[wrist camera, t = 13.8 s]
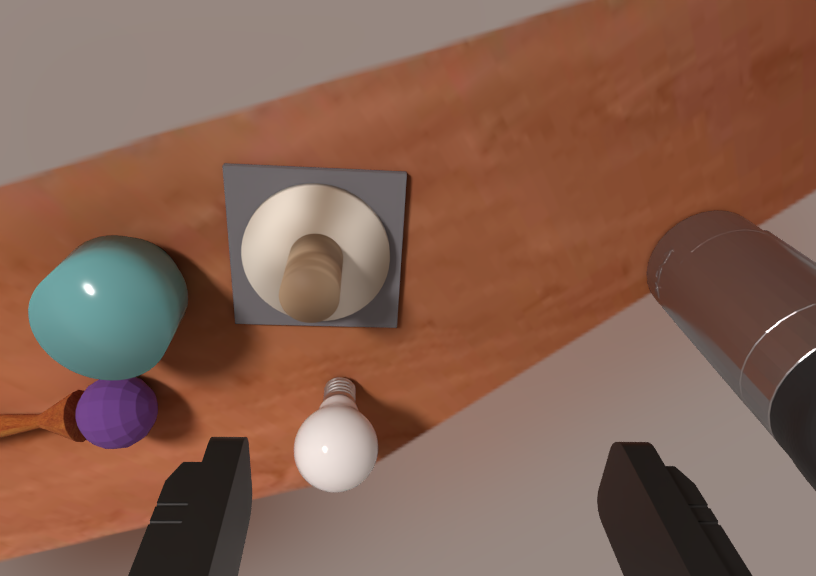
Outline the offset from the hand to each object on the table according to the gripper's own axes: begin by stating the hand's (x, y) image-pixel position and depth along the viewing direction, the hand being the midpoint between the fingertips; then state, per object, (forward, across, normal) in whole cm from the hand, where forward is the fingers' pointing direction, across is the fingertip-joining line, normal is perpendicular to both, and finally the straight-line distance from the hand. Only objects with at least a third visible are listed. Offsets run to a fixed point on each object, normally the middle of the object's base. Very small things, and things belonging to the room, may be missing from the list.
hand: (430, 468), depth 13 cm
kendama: (+34, +28, +26) cm, 51 cm away
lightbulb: (+33, +3, +23) cm, 41 cm away
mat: (+33, +5, +10) cm, 35 cm away
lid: (+32, +5, +10) cm, 34 cm away
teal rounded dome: (+33, +19, +13) cm, 40 cm away
